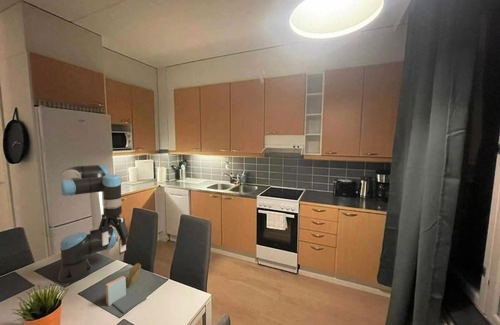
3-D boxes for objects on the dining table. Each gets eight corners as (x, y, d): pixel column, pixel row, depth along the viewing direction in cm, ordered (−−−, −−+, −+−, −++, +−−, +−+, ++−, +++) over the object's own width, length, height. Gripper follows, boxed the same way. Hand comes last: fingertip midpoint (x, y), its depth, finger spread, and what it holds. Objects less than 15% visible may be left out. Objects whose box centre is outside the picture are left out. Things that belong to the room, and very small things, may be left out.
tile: (106, 304, 104) (105, 284, 103) (123, 294, 110) (123, 275, 109) (108, 306, 102) (108, 286, 101) (126, 296, 109) (125, 277, 108)
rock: (128, 287, 112) (146, 275, 120) (121, 272, 114) (139, 261, 122) (122, 291, 119) (140, 280, 127) (116, 277, 120) (134, 266, 128)
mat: (112, 304, 103) (112, 302, 103) (135, 291, 113) (135, 290, 112) (123, 313, 98) (123, 311, 98) (146, 299, 107) (146, 297, 107)
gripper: (89, 204, 108) (90, 245, 110) (122, 212, 98) (123, 257, 100) (104, 201, 115) (106, 239, 117) (136, 208, 105) (137, 250, 107)
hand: (113, 247), depth 109 cm, fingers open, 13 cm apart
